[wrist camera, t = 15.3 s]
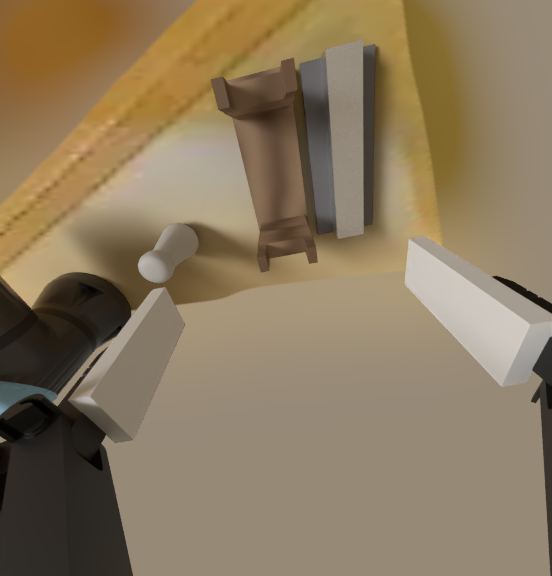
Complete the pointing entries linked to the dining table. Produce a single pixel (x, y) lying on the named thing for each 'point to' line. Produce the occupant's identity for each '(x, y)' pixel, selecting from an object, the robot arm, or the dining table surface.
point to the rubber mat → (318, 137)
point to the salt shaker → (168, 253)
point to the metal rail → (344, 135)
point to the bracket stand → (270, 157)
